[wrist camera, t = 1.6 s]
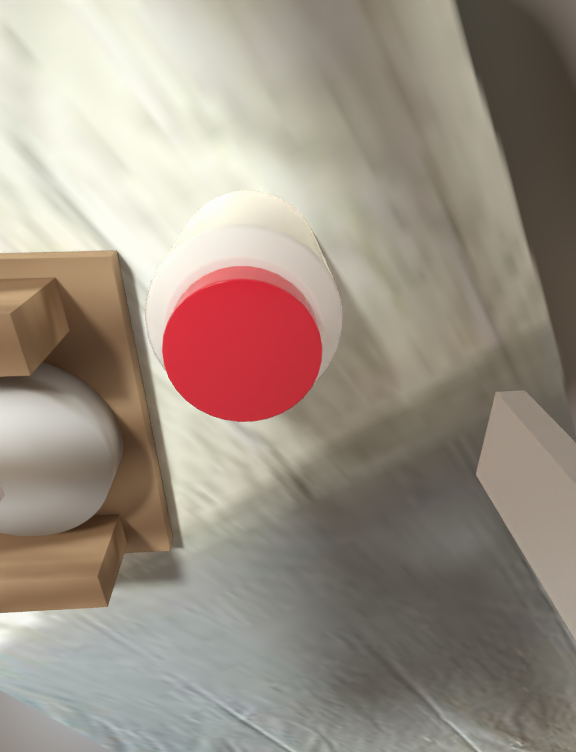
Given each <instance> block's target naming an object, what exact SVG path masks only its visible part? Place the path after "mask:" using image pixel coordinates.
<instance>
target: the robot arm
mask: <svg viewBox="0 0 576 752" xmlns="http://www.w3.org/2000/svg"><path fill="white" fill-rule="evenodd" d="M476 476H477V478H478V479H479V481H480V483H481V484H482V486H483V488H484V489H485V491H486V493H487V494H488V496H489V498H490V499H491V501H492V503H493V504H494V506H495V508H496V509H497V511H498V512H499V514H500V516H501V517H502V519H503V521H504V522H505V524H506V526H507V527H508V529H509V531H510V532H511V534H512V536H513V537H514V539H515V541H516V542H517V544H518V546H519V547H520V549H521V551H522V552H523V554H524V556H525V557H526V559H527V561H528V562H529V564H530V566H531V567H532V569H533V571H534V572H535V574H536V576H537V577H538V579H539V581H540V582H541V584H542V586H543V587H544V589H545V591H546V592H547V594H548V596H549V597H550V599H551V600H552V602H553V604H554V605H555V607H556V609H557V610H558V612H559V614H560V615H561V617H562V619H563V620H564V622H565V624H566V625H567V627H568V629H569V630H570V632H571V634H572V635H573V637H574V639H575V640H576V442H575V441H574V440H573V439H572V438H571V437H570V436H569V435H568V434H567V433H566V432H565V431H564V430H563V429H562V428H561V427H560V426H559V425H558V424H557V423H556V422H555V421H554V420H553V419H552V418H551V417H550V416H549V415H548V414H547V413H546V412H545V411H544V409H543V408H542V407H541V406H540V405H539V404H538V403H537V402H536V401H535V400H534V399H533V398H532V397H531V396H530V395H529V394H528V393H527V392H526V391H501V392H496V393H495V397H494V401H493V405H492V409H491V413H490V418H489V422H488V426H487V430H486V434H485V438H484V443H483V447H482V451H481V455H480V459H479V463H478V467H477V472H476ZM4 496H5V494H4V492H3V489H2V487H1V485H0V502H1V500H2V499H3V497H4Z"/></svg>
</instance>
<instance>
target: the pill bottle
mask: <svg viewBox="0 0 576 752" xmlns="http://www.w3.org/2000/svg"><path fill="white" fill-rule="evenodd" d="M342 319H343V312H342V306H341V299H340V294H339V292H338V289H337V286H336V284H335V281H334V278H333V276H332V274H331V271H330V269H329V267H328V265H327V262H326V260H325V258H324V256H323V253H322V251H321V249H320V247H319V244H318V242H317V240H316V238H315V235H314V233H313V231H312V229H311V228H310V226H309V225H308V223H307V221H306V220H305V218H304V217H303V216H302V215H301V214H300V213H299V212H298V211H297V210H296V209H295V208H294V207H292V206H291V205H290V204H288V203H287V202H285V201H284V200H282V199H280V198H278V197H275V196H273V195H271V194H268V193H263V192H258V191H236V192H231V193H226V194H223V195H221V196H219V197H217V198H214V199H212V200H211V201H209V202H208V203H207V204H205V205H204V206H202V207H201V208H200V209H199V210H198V211H197V212H196V213H195V214H194V216H193V217H192V218H191V219H190V220H189V222H188V223H187V225H186V226H185V228H184V229H183V231H182V232H181V234H180V235H179V237H178V238H177V240H176V241H175V243H174V244H173V246H172V247H171V249H170V250H169V252H168V253H167V255H166V256H165V258H164V259H163V261H162V262H161V264H160V266H159V268H158V270H157V272H156V273H155V275H154V277H153V279H152V281H151V284H150V287H149V291H148V294H147V298H146V309H145V321H146V327H147V333H148V338H149V341H150V343H151V346H152V349H153V351H154V354H155V355H156V357H157V359H158V360H159V362H160V363H161V365H162V367H163V368H164V369H165V371H166V372H167V374H168V377H169V379H170V381H171V382H172V384H173V385H174V387H175V389H176V390H177V391H178V392H179V393H180V394H181V395H182V397H183V398H184V399H185V400H186V401H188V402H189V403H190V404H192V405H193V406H194V407H196V408H197V409H199V410H201V411H203V412H205V413H207V414H209V415H211V416H214V417H217V418H221V419H224V420H230V421H237V422H247V421H258V420H263V419H268V418H271V417H273V416H276V415H279V414H281V413H283V412H285V411H286V410H288V409H290V408H292V407H293V406H294V405H295V404H297V403H298V402H299V401H300V400H301V399H303V398H304V396H305V395H306V394H307V393H308V391H309V390H310V389H311V388H312V386H313V384H314V382H315V381H316V380H317V379H318V378H319V377H320V376H321V375H322V373H323V372H324V371H325V369H326V368H327V367H328V366H329V364H330V362H331V360H332V358H333V356H334V354H335V352H336V350H337V347H338V343H339V340H340V336H341V333H342Z"/></svg>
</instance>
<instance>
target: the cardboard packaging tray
mask: <svg viewBox="0 0 576 752" xmlns="http://www.w3.org/2000/svg"><path fill="white" fill-rule="evenodd" d="M0 485H1V487H2V489H3V492H4V494H5V496H4V497H3V499H2V500H1V502H0V613H8V612H26V611H44V610H62V609H79V608H97V607H108V604H109V601H110V598H111V594H112V591H113V588H114V585H115V581H116V578H117V575H118V572H119V568H120V565H121V562H122V559H123V555H124V553H134V552H153V551H170V550H171V545H172V540H173V535H172V530H171V525H170V520H169V515H168V509H167V504H166V499H165V494H164V489H163V484H162V479H161V474H160V469H159V464H158V459H157V453H156V448H155V443H154V438H153V433H152V428H151V423H150V418H149V413H148V408H147V402H146V397H145V392H144V387H143V382H142V377H141V372H140V367H139V362H138V357H137V352H136V346H135V341H134V336H133V331H132V326H131V321H130V316H129V311H128V306H127V301H126V296H125V290H124V285H123V280H122V275H121V270H120V265H119V260H118V255H117V251H78V252H40V253H1V254H0Z"/></svg>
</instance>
